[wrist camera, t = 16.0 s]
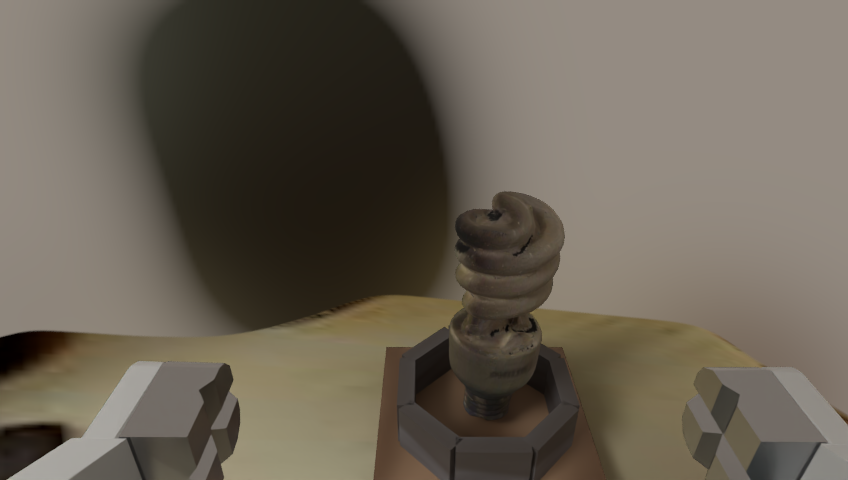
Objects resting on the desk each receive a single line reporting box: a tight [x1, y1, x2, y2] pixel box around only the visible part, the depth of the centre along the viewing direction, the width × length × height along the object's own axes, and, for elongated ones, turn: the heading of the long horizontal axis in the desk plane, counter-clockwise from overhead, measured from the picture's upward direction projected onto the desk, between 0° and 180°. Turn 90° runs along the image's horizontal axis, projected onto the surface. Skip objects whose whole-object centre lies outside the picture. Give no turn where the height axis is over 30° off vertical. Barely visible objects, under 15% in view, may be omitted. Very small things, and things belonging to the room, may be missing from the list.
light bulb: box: [449, 192, 565, 420], centre depth 30 cm, size 6×6×15 cm
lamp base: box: [374, 326, 606, 480], centre depth 34 cm, size 13×13×4 cm
